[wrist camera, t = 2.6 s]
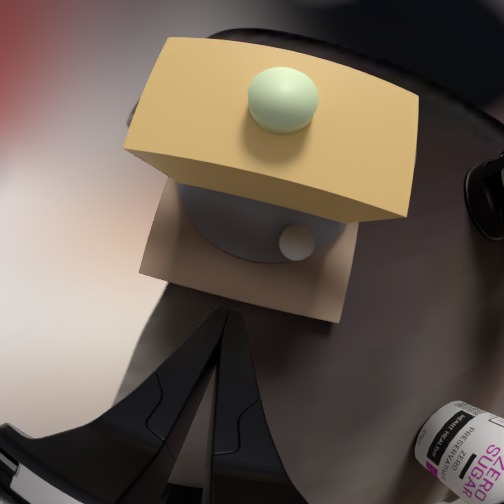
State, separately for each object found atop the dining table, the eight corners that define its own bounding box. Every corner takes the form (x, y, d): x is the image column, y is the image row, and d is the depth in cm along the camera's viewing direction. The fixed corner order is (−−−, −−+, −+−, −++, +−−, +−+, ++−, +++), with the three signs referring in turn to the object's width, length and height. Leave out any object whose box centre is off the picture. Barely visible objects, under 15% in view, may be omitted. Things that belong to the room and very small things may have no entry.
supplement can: (461, 442, 20) (537, 485, 5) (408, 471, 20) (479, 538, 5) (468, 388, 21) (564, 419, 6) (413, 416, 21) (511, 478, 6)
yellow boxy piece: (350, 225, 19) (428, 220, 9) (173, 181, 19) (102, 140, 9) (365, 148, 19) (437, 92, 9) (196, 107, 19) (153, 26, 9)
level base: (333, 321, 22) (350, 326, 18) (145, 274, 22) (126, 270, 18) (364, 120, 25) (378, 98, 21) (212, 83, 25) (209, 57, 21)
